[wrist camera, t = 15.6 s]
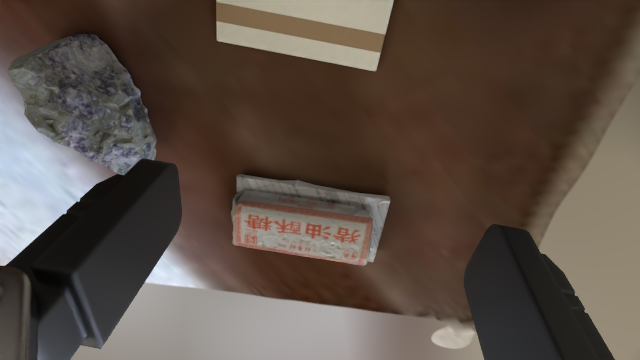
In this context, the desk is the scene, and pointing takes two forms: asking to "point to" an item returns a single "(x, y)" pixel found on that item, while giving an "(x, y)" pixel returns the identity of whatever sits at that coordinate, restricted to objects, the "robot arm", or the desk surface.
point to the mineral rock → (85, 101)
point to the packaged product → (307, 219)
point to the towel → (308, 28)
